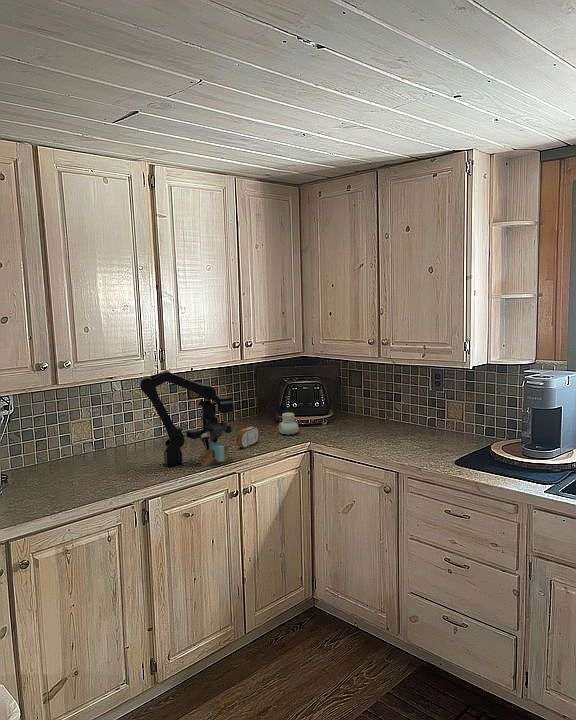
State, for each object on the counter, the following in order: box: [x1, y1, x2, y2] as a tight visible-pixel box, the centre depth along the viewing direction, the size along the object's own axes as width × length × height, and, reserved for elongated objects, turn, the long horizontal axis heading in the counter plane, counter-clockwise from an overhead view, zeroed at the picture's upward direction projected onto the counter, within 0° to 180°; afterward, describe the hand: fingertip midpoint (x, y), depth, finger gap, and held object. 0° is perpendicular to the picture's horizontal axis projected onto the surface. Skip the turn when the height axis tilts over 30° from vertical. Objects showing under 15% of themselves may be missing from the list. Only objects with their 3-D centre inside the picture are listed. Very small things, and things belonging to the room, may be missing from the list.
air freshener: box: [278, 412, 300, 436], centre depth 297 cm, size 11×8×10 cm
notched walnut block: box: [200, 445, 230, 467], centre depth 251 cm, size 12×2×6 cm, turn 125°
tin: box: [236, 425, 260, 448], centre depth 277 cm, size 15×3×8 cm, turn 149°
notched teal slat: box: [208, 439, 225, 463], centre depth 251 cm, size 12×2×6 cm, turn 36°
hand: (210, 451), depth 254 cm, fingers closed on notched teal slat, 2 cm apart
